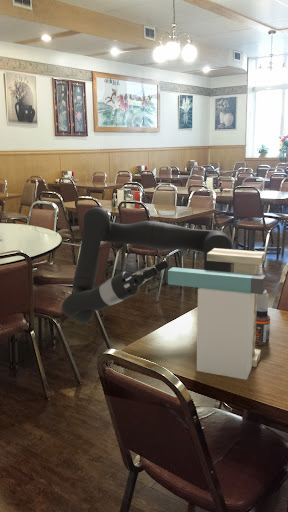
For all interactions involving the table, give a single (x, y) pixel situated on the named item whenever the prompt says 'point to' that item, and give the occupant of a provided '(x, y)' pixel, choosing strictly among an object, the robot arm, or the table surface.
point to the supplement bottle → (262, 326)
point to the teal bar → (217, 280)
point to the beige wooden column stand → (247, 265)
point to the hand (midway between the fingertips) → (162, 266)
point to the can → (263, 300)
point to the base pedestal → (225, 332)
